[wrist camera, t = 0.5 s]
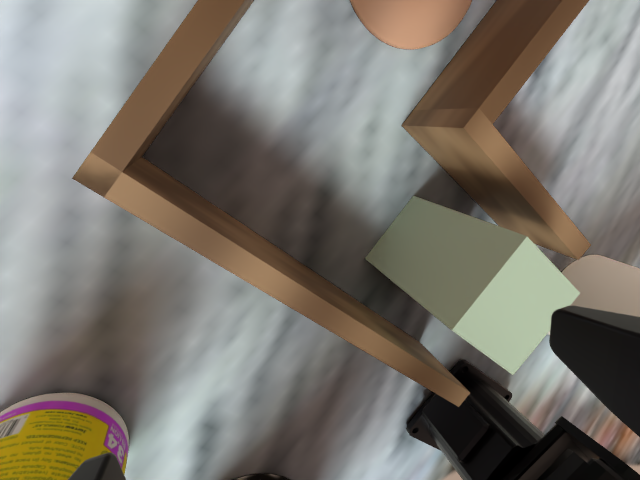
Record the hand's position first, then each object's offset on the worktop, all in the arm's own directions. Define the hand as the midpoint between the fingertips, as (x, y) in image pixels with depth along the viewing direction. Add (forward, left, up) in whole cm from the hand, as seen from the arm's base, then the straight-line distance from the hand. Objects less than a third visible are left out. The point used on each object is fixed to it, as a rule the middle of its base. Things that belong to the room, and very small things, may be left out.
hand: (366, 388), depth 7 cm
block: (-8, -4, -13) cm, 16 cm away
